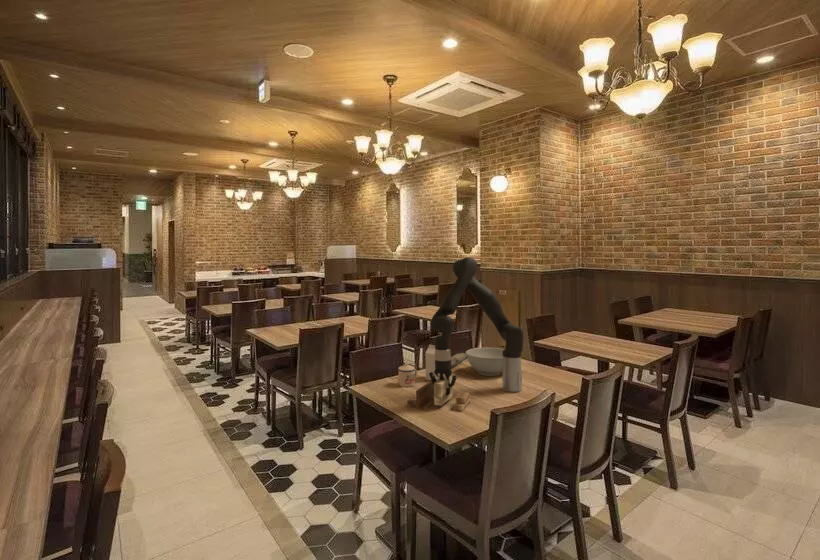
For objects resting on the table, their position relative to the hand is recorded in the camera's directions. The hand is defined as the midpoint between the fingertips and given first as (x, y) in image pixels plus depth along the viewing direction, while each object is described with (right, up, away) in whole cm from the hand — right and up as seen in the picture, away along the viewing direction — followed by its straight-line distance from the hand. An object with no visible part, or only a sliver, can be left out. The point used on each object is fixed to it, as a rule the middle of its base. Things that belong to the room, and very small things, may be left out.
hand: (443, 394), depth 204 cm
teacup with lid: (-16, -3, +31) cm, 35 cm away
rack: (-8, -4, +4) cm, 10 cm away
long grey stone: (+13, 0, +74) cm, 75 cm away
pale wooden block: (0, -3, 0) cm, 3 cm away
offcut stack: (+8, -5, -4) cm, 10 cm away
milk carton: (-2, -2, +39) cm, 39 cm away
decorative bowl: (+30, -1, +50) cm, 58 cm away
